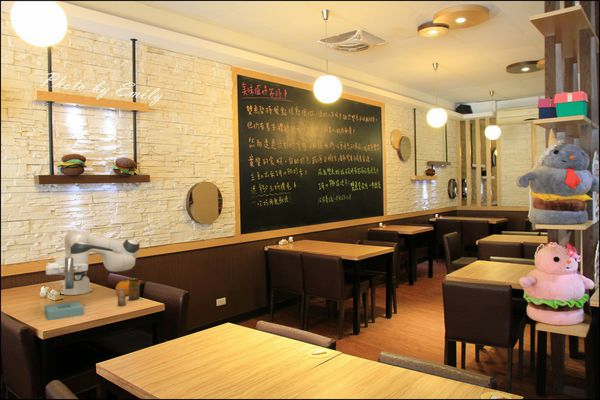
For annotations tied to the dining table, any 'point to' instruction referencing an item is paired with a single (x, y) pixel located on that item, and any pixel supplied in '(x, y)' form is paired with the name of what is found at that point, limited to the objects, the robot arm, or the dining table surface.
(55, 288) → the dining table surface
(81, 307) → the hole plate
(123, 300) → the short pin
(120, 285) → the fruit
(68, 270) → the long pin
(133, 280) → the condiment
